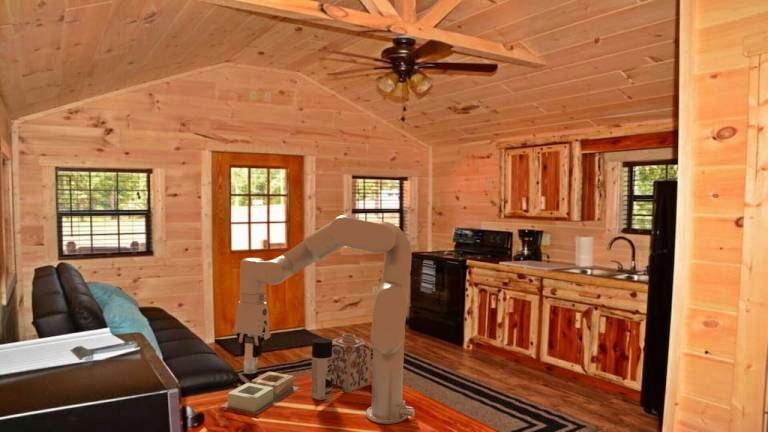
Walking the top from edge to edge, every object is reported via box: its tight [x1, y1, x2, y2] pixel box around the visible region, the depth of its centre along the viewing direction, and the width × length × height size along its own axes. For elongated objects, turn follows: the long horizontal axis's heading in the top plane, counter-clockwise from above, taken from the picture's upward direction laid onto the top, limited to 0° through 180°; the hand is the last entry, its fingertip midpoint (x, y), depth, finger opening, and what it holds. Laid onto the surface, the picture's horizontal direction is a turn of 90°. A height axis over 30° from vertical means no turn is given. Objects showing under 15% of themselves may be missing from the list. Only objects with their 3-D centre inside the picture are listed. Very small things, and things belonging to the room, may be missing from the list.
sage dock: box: [227, 382, 273, 412], centre depth 170 cm, size 10×10×4 cm
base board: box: [219, 385, 300, 420], centre depth 176 cm, size 14×24×2 cm, turn 158°
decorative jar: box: [332, 333, 372, 394], centre depth 192 cm, size 12×12×18 cm
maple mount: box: [250, 371, 294, 398], centre depth 181 cm, size 10×10×4 cm
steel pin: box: [243, 334, 258, 375], centre depth 170 cm, size 4×4×11 cm
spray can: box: [311, 337, 333, 404], centre depth 178 cm, size 7×7×20 cm
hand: (250, 354), depth 170 cm, fingers closed on steel pin, 4 cm apart
